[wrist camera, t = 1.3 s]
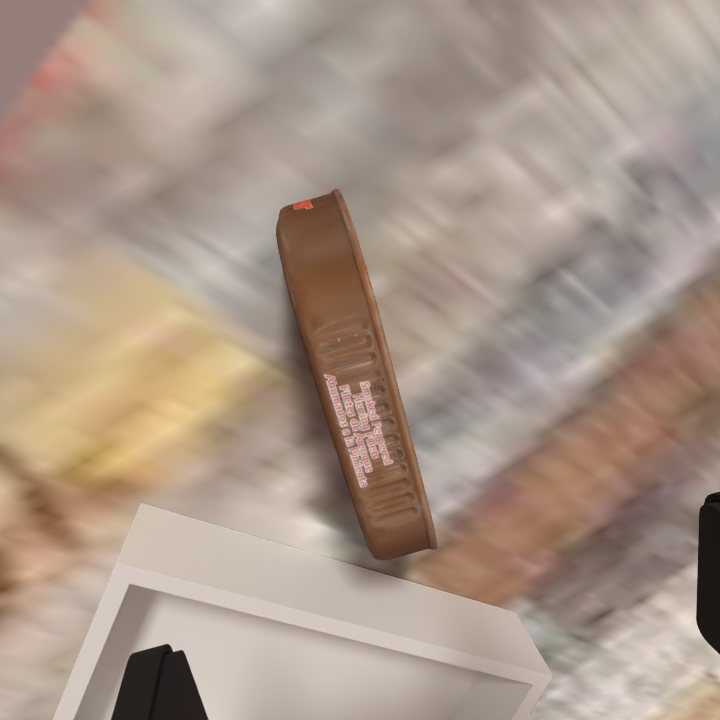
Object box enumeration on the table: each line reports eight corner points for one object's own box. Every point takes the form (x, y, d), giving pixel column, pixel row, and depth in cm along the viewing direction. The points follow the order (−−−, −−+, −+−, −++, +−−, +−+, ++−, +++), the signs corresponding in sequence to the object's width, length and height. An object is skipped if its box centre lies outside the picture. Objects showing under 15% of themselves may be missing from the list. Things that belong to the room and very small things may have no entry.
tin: (411, 480, 28) (467, 591, 20) (353, 499, 28) (387, 618, 20) (333, 188, 23) (367, 181, 15) (263, 207, 23) (261, 211, 15)
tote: (51, 723, 29) (14, 815, 24) (140, 502, 26) (116, 562, 22) (411, 787, 34) (432, 869, 30) (514, 612, 32) (553, 675, 27)
